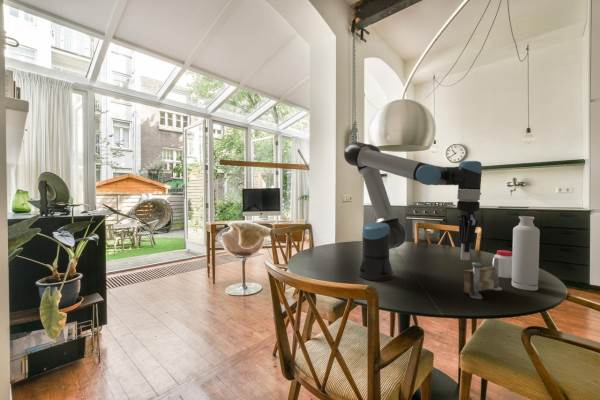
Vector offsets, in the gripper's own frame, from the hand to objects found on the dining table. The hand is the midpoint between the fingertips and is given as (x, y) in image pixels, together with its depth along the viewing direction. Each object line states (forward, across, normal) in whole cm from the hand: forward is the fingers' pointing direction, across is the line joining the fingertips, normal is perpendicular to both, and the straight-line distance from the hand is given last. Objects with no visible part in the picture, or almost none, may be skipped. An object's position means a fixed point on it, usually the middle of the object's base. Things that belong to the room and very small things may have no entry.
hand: (464, 259), depth 108 cm
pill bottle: (+11, +19, -23) cm, 32 cm away
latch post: (+11, -11, 0) cm, 15 cm away
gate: (+10, -6, -4) cm, 12 cm away
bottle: (+11, +4, -24) cm, 26 cm away
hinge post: (+11, -1, -11) cm, 15 cm away
